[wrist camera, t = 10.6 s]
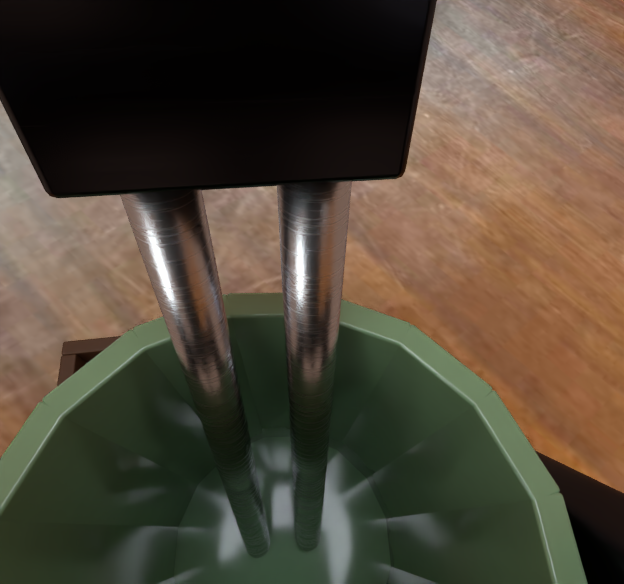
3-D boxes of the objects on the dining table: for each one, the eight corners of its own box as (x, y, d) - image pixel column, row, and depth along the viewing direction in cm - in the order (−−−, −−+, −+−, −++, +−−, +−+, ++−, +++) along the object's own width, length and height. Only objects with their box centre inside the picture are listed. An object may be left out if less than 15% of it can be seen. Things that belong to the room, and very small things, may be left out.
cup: (442, 614, 12) (759, 789, 4) (210, 758, 11) (-69, 1546, 2) (336, 395, 15) (392, 231, 7) (140, 483, 14) (-97, 409, 5)
